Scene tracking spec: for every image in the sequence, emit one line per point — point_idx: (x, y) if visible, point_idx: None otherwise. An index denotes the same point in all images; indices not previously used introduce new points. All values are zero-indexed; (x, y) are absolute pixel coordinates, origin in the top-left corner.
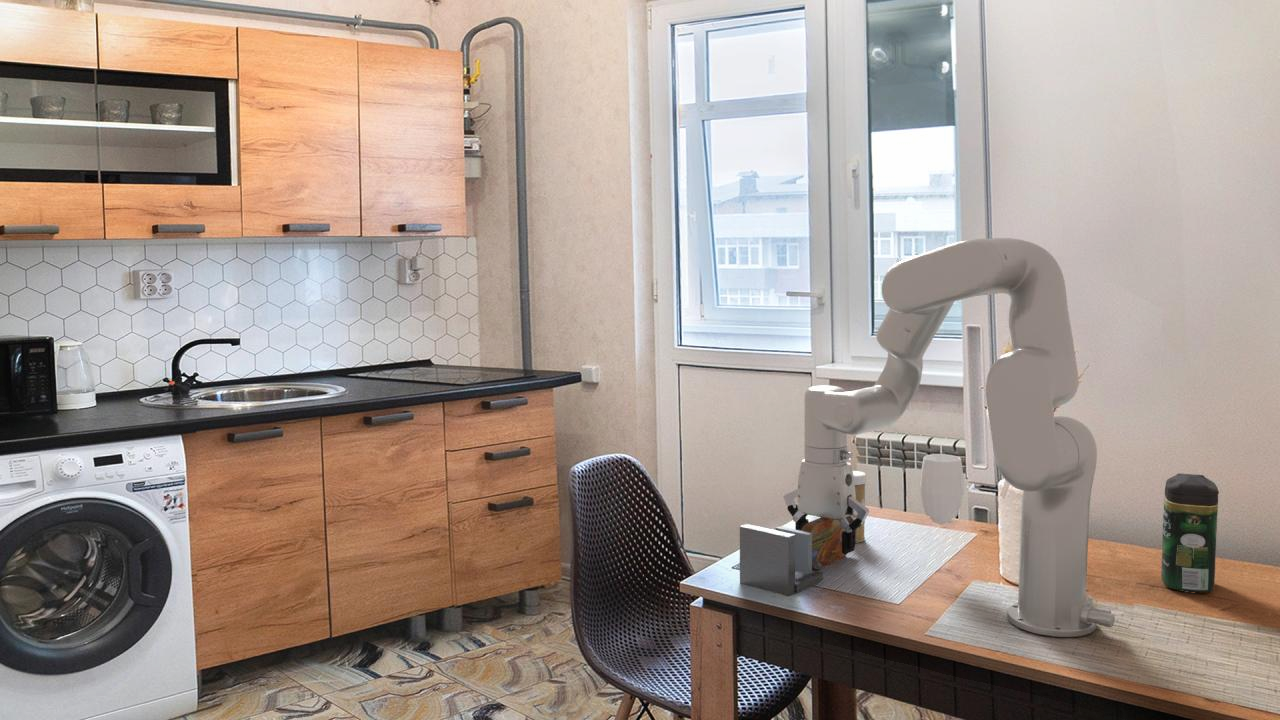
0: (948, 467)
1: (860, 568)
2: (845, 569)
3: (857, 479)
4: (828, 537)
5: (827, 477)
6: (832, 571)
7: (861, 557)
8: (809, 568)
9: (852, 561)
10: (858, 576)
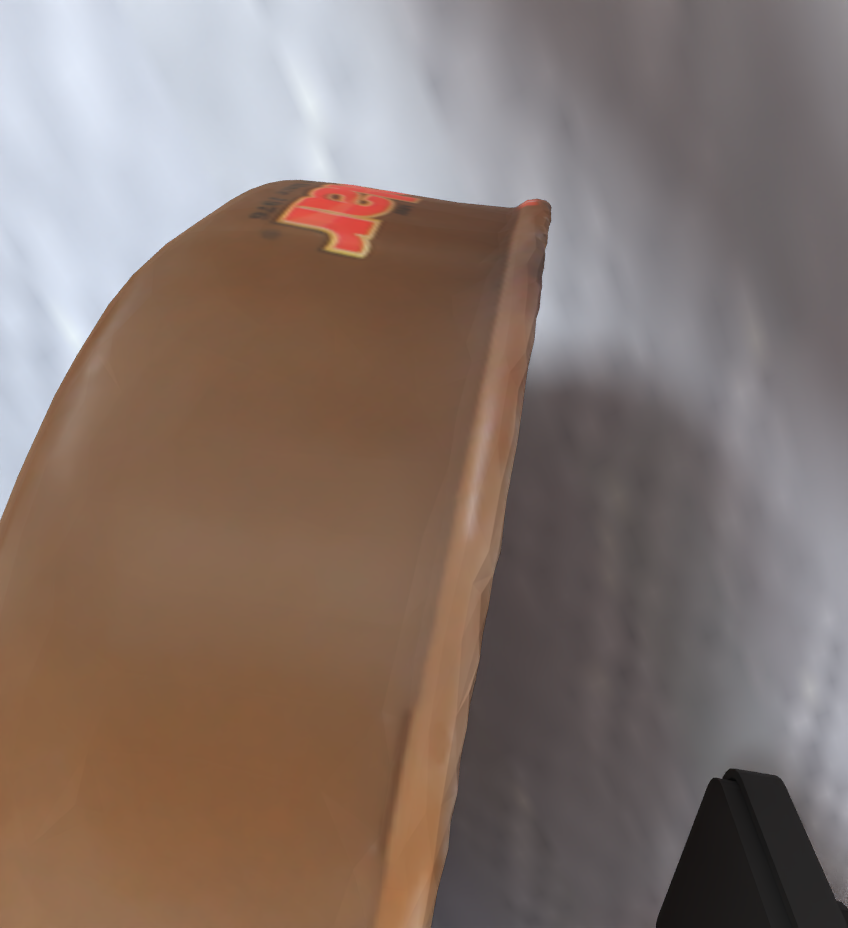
0: None
1: (806, 669)
2: (658, 756)
3: None
4: None
5: None
6: (559, 846)
7: (711, 277)
8: None
9: (646, 493)
10: (841, 869)
